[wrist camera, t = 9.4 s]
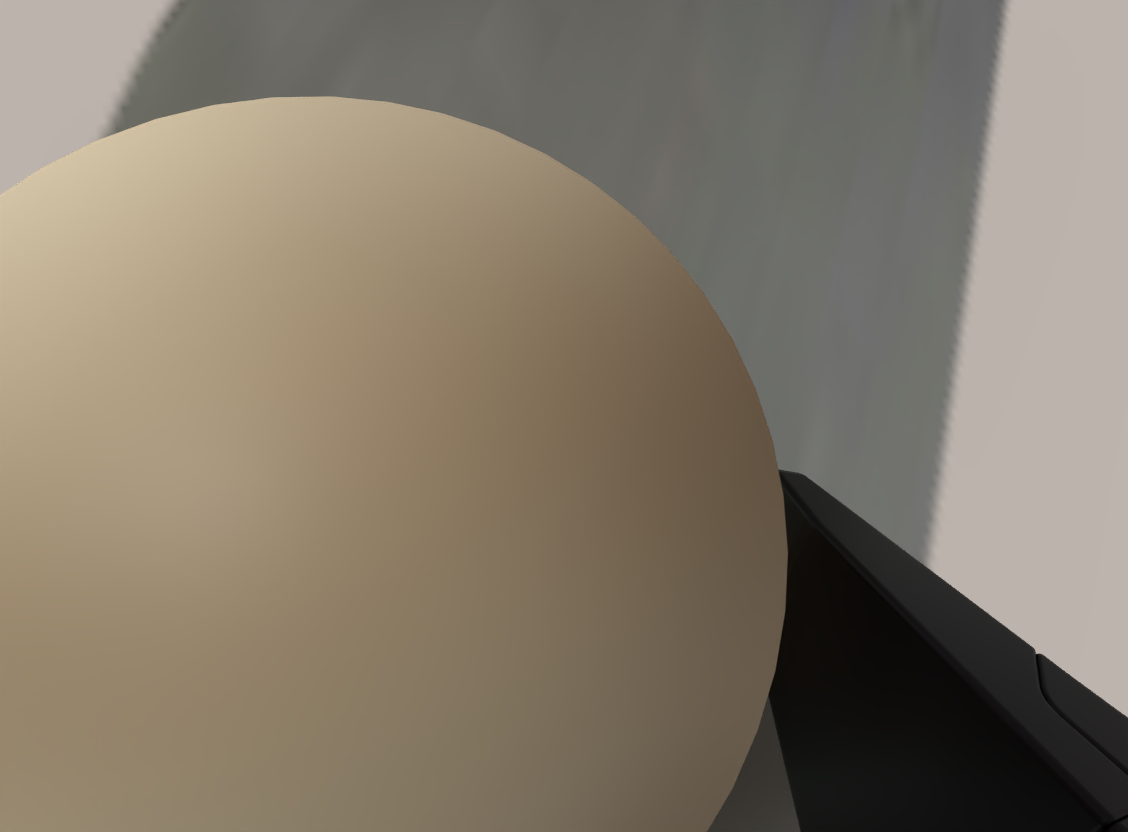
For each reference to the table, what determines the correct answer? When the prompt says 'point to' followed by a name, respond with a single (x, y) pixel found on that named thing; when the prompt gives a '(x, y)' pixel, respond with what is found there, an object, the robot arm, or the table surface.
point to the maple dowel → (368, 490)
